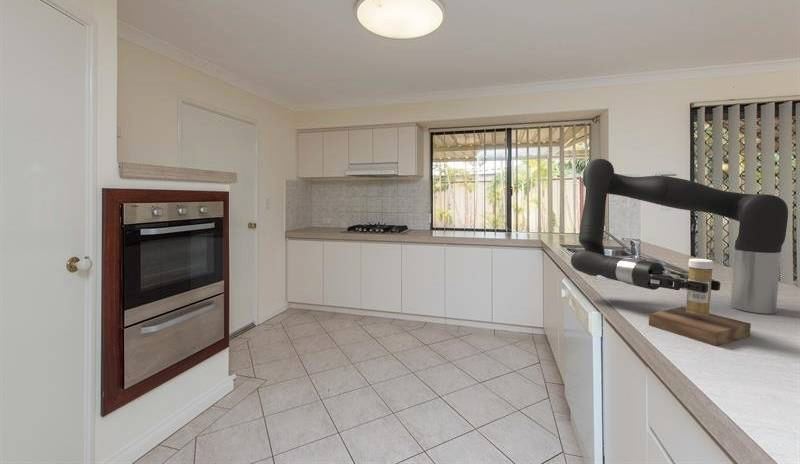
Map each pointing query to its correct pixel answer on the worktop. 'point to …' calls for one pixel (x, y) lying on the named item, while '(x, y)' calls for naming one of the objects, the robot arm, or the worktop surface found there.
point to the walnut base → (700, 326)
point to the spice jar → (701, 273)
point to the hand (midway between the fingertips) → (713, 287)
